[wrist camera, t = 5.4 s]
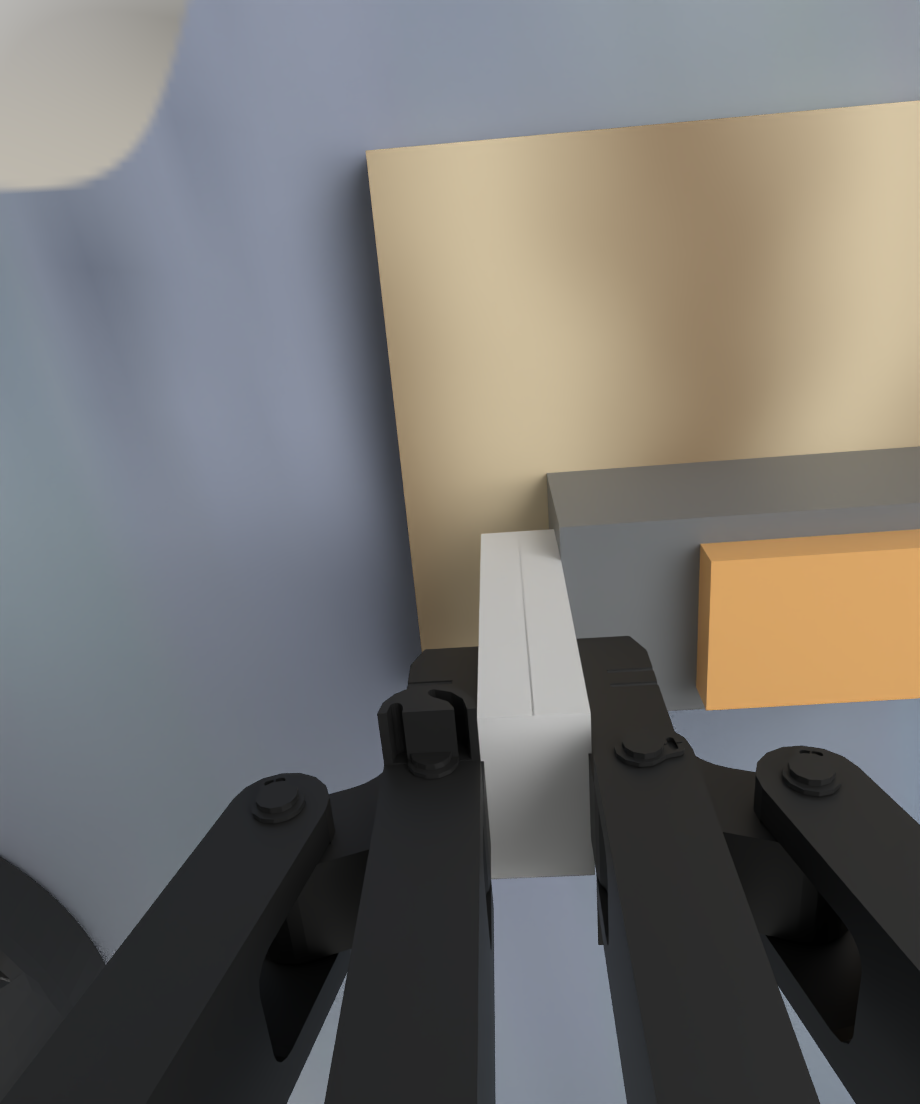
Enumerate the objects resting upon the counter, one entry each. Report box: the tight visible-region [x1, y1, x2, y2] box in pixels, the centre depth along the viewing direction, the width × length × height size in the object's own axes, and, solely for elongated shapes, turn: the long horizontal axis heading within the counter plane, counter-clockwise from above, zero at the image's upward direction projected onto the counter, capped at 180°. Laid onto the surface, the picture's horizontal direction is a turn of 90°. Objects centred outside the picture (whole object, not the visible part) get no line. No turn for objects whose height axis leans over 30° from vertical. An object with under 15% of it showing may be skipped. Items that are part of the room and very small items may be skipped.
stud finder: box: [547, 446, 920, 711], centre depth 17 cm, size 8×4×4 cm, turn 95°
